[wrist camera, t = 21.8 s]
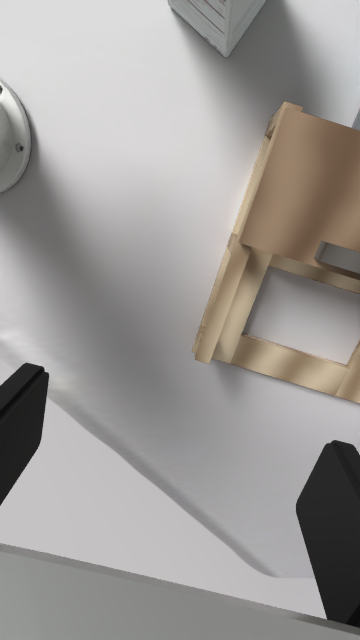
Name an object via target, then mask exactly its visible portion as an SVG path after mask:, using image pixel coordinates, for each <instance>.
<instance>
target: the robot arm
mask: <svg viewBox="0 0 360 640" xmlns="http://www.w3.org/2000/svg"><path fill="white" fill-rule="evenodd" d="M2 90H3V92H2ZM22 147H23V151H22ZM30 150H31V134H30V129H29V123H28V120H27V117H26V114H25V111H24V109H23V107H22V105H21V103H20V101H19V99H18V98H17V97H16V95H15V94H14V92H13V91H12V90H11V88H10V87H9V86H8V85H7V84H6V83H5V82H4V81H3V80H2V79H0V193H1V192H3V191H6V190H7V189H9V188H10V187H12V186H13V185H14V184H15V183H16V182H17V181H18V180H19V179H20V177H21V176H22V174H23V173H24V171H25V169H26V166H27V164H28V161H29V156H30ZM48 381H49V373H47V372H45V370H44V367H42V366H38V365H34V364H30V363H25V364H23V365H22V366H21V367H20V368H19V369H18V370H17V371H16V372H15V373H14V374H13V375H11V376H10V377H9V378H8V379H7V380H6V381H5V382H4V383H3V384H2V385H1V386H0V505H1V504H2V502H3V500H4V499H5V498H6V496H7V495H8V493H9V491H10V490H11V489H12V487H13V485H14V484H15V482H16V481H17V479H18V478H19V476H20V475H21V473H22V472H23V470H24V469H25V467H26V466H27V464H28V463H29V461H30V459H31V458H32V456H33V455H34V453H35V452H36V450H37V449H38V446H39V444H40V441H41V436H42V428H43V421H44V413H45V404H46V397H47V389H48ZM296 513H297V517H298V520H299V524H300V527H301V531H302V534H303V538H304V541H305V544H306V548H307V551H308V555H309V558H310V562H311V565H312V568H313V572H314V575H315V579H316V582H317V586H318V589H319V592H320V596H321V599H322V603H323V606H324V610H325V613H326V617H327V620H326V619H322V618H318V617H314V616H310V615H306V614H302V613H298V612H294V611H290V610H285V609H282V608H277V607H273V606H269V605H264V604H261V603H257V602H253V601H249V600H245V599H240V598H236V597H232V596H228V595H224V594H219V593H215V592H211V591H206V590H203V589H198V588H194V587H190V586H186V585H181V584H177V583H173V582H169V581H165V580H161V579H156V578H152V577H148V576H144V575H139V574H135V573H130V572H126V571H122V570H118V569H113V568H109V567H105V566H101V565H96V564H91V563H88V562H83V561H78V560H74V559H70V558H66V557H61V556H57V555H53V554H49V553H44V552H39V551H34V550H30V549H25V548H20V547H16V546H11V545H6V544H1V543H0V640H360V455H359V453H358V451H357V450H356V448H355V447H354V446H353V445H352V444H349V443H345V442H341V441H337V440H333V441H332V442H331V443H327V444H326V445H325V446H324V448H323V450H322V452H321V454H320V456H319V458H318V460H317V462H316V464H315V466H314V468H313V470H312V472H311V474H310V476H309V478H308V480H307V482H306V484H305V486H304V488H303V490H302V492H301V494H300V496H299V498H298V500H297V503H296Z"/></svg>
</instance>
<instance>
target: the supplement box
mask: <svg viewBox="0 0 360 640" xmlns="http://www.w3.org/2000/svg"><path fill="white" fill-rule="evenodd" d="M265 2H266V0H168V4H169V6H170V7H171V8H173V9H174V10H175V11H176V12H177V13H178V14H179V15H180V16H181V17H182V18H183V19H185V20H186V21H187V22H188V23H189V24H190V25H191V26H192V27H193V28H194V29H195V30H196V31H197V32H198V33H199V34H200V35H202V36H203V37H204V38H205V39H206V40H207V41H208V42H209V43H210V44H211V45H212V46H213V47H214V48H215V49H217V50H218V51H219V52H220V53H221V54H222V55H223V56H224V57H225V58H227V57H228V56H229V54H230V53H231V52H232V50H233V49H234V47H235V46H236V45H237V43H238V42H239V40H240V39H241V37H242V36H243V34H244V33H245V31H246V30H247V28H248V27H249V26H250V24H251V23H252V21H253V20H254V18H255V17H256V15H257V14H258V12H259V11H260V9H261V8H262V6H263V5H264V3H265Z"/></svg>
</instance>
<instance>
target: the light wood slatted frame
mask: <svg viewBox="0 0 360 640" xmlns="http://www.w3.org/2000/svg"><path fill="white" fill-rule="evenodd" d="M287 107H288V108H291V109H294V110H297V111H300V112H302V109H303V107H301V106H298V105H295V104H292V103H289V102H286V101H284V103H283V104H282V105H281V107H280V108H279V109H278V111H277V112H276V113H275V115H272V117H271V119H270V122H269V125H268V128H267V131H266V134H265V137H264V140H263V143H262V146H261V148H260V151H259V154H258V157H257V160H256V163H255V166H254V169H253V172H252V175H251V178H250V181H249V184H248V187H247V190H246V193H245V196H244V198H243V201H242V204H241V207H240V210H239V213H238V216H237V219H236V222H235V225H234V228H233V231H232V234H231V237H230V240H229V243H228V245H227V248H226V251H225V254H224V257H223V260H222V263H221V266H220V269H219V272H218V275H217V278H216V281H215V284H214V287H213V290H212V293H211V295H210V298H209V301H208V304H207V307H206V310H205V313H204V316H203V319H202V322H201V325H200V328H199V331H198V334H197V337H196V340H195V342H194V345H193V348H192V352H193V353H195V360H198V361H201V362H204V363H207V364H209V363H210V360H211V358H213V359H216V360H219V361H223V362H226V363H229V364H233V365H236V366H239V367H242V368H246V369H249V370H252V371H255V372H259V373H262V374H265V375H269V376H272V377H275V378H278V379H282V380H285V381H288V382H291V383H295V384H298V385H301V386H304V387H308V388H311V389H314V390H318V391H321V392H324V393H327V394H331V395H334V396H337V397H340V398H344V399H347V400H350V401H354V402H357V403H360V341H359V343H358V345H357V347H356V348H355V350H354V352H353V354H352V356H351V358H350V360H349V362H348V364H347V365H343V364H340V363H337V362H334V361H330V360H327V359H324V358H321V357H317V356H314V355H311V354H308V353H304V352H301V351H298V350H295V349H291V348H288V347H285V346H282V345H278V344H275V343H272V342H269V341H265V340H262V339H259V338H256V337H253V336H249V335H246V334H243V333H242V331H243V329H244V326H245V324H246V321H247V319H248V316H249V314H250V311H251V308H252V306H253V303H254V301H255V298H256V296H257V293H258V290H259V288H260V285H261V283H262V280H263V278H264V275H265V273H266V270H267V267H268V266H272V267H275V268H278V269H281V270H284V271H288V272H291V273H294V274H297V275H300V276H304V277H307V278H310V279H313V280H316V281H320V282H323V283H326V284H329V285H332V286H336V287H339V288H342V289H345V290H348V291H352V292H355V293H358V294H360V280H356V279H353V278H350V277H347V276H344V275H340V274H337V273H334V272H331V271H328V270H325V269H321V268H318V267H315V266H312V265H309V264H305V263H302V262H299V261H296V260H293V259H289V258H286V257H283V256H280V255H277V254H273V253H270V252H267V251H264V250H261V249H257V248H254V247H251V246H248V245H245V244H242V243H239V239H240V236H241V233H242V230H243V227H244V224H245V222H246V219H247V216H248V213H249V210H250V207H251V204H252V202H253V199H254V196H255V193H256V190H257V187H258V184H259V182H260V179H261V176H262V173H263V170H264V167H265V164H266V162H267V159H268V156H269V153H270V150H271V147H272V144H273V142H274V139H275V136H276V133H277V130H278V127H279V125H280V122H281V119H282V116H283V113H284V110H285V109H286V108H287Z"/></svg>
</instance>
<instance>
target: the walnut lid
mask: <svg viewBox="0 0 360 640" xmlns="http://www.w3.org/2000/svg"><path fill="white" fill-rule="evenodd" d="M239 243H242V244H245V245H248V246H251V247H254V248H257V249H261V250H264V251H267V252H270V253H273V254H277V255H280V256H283V257H286V258H289V259H293V260H296V261H299V262H302V263H305V264H309V265H312V266H315V267H318V268H321V269H325V270H328V271H331V272H334V273H337V274H340V275H344V276H347V277H350V278H353V279H356V280H360V131H359V130H356V129H353V128H350V127H347V126H343V125H340V124H337V123H334V122H331V121H328V120H325V119H322V118H319V117H316V116H312V115H309V114H306V113H303V112H300V111H297V110H294V109H291V108H288V107H287V108H286V109H285V110H284V113H283V116H282V119H281V122H280V125H279V127H278V130H277V133H276V136H275V139H274V142H273V144H272V147H271V150H270V153H269V156H268V159H267V162H266V164H265V167H264V170H263V173H262V176H261V179H260V182H259V184H258V187H257V190H256V193H255V196H254V199H253V202H252V204H251V207H250V210H249V213H248V216H247V219H246V222H245V224H244V227H243V230H242V233H241V236H240V239H239Z"/></svg>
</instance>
